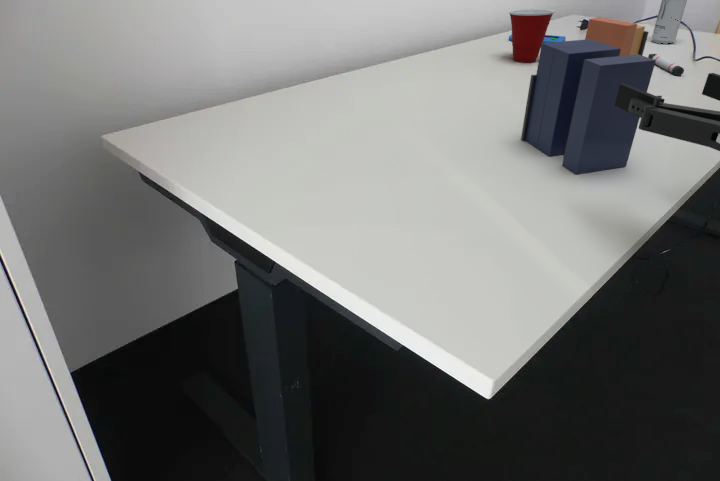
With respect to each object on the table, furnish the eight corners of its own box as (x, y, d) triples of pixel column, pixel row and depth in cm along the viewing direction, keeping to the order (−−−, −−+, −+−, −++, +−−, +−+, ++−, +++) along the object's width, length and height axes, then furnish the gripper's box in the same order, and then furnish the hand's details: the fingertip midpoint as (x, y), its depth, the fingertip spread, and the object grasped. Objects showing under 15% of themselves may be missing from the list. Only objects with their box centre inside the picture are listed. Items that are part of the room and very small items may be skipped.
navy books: (599, 149, 88) (624, 48, 80) (546, 156, 86) (566, 53, 77) (570, 132, 95) (590, 37, 86) (520, 139, 92) (536, 42, 84)
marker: (682, 76, 124) (685, 67, 123) (674, 76, 124) (676, 67, 123) (651, 59, 137) (653, 51, 135) (643, 59, 137) (645, 51, 135)
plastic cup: (528, 52, 143) (535, 4, 137) (555, 62, 135) (564, 11, 128) (493, 57, 140) (499, 7, 133) (519, 67, 131) (527, 14, 125)
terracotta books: (613, 90, 115) (629, 26, 108) (574, 79, 122) (587, 18, 115) (634, 84, 119) (651, 21, 112) (595, 74, 126) (608, 14, 119)
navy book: (626, 166, 83) (656, 60, 74) (575, 174, 80) (600, 65, 72) (610, 157, 86) (638, 54, 77) (561, 165, 83) (584, 59, 75)
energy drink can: (647, 39, 155) (662, -18, 147) (668, 39, 155) (684, -18, 147) (656, 44, 150) (673, -15, 142) (678, 44, 150) (696, -15, 142)
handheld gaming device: (513, 31, 160) (566, 35, 155) (513, 35, 161) (565, 39, 155) (507, 36, 154) (562, 41, 149) (507, 40, 155) (561, 45, 149)
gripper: (714, 208, 50) (574, 129, 67) (904, 170, 56) (731, 106, 73) (744, 131, 46) (586, 68, 63) (946, 100, 52) (752, 50, 69)
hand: (664, 88), depth 68 cm, fingers open, 13 cm apart
